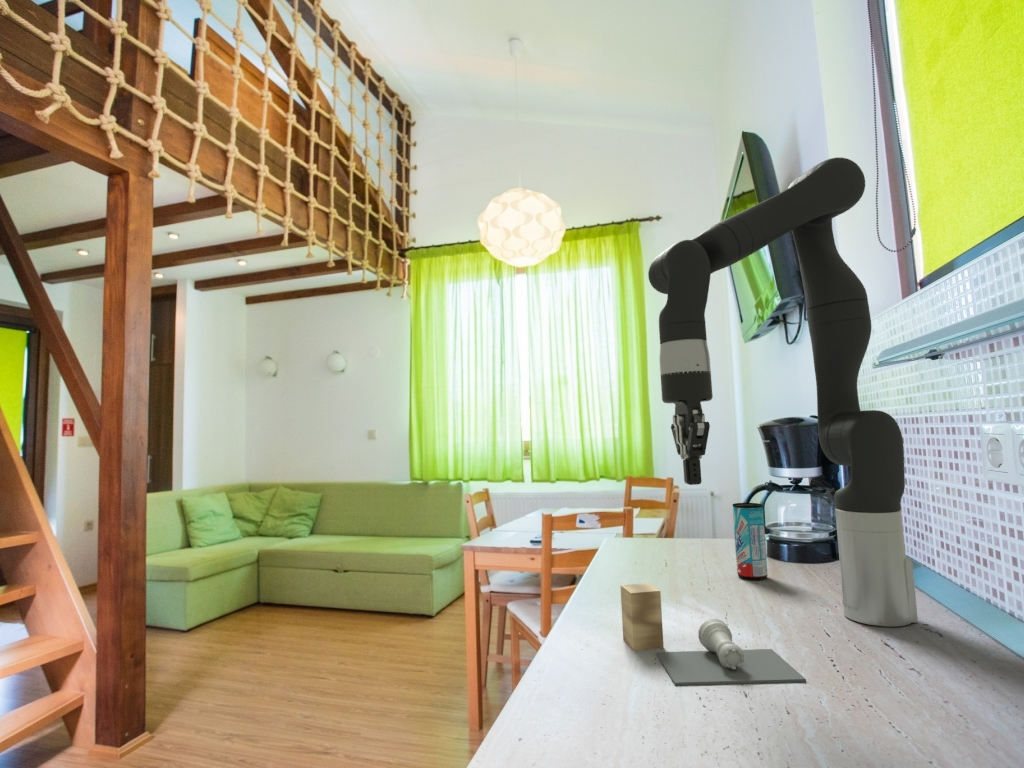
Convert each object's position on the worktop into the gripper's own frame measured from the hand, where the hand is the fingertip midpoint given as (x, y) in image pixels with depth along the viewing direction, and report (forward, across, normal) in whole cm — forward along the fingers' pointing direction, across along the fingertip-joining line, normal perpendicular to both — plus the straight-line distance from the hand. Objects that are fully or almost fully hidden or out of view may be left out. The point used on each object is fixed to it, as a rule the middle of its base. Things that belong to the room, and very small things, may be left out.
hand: (693, 483), depth 89 cm
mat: (+23, -11, 0) cm, 25 cm away
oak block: (+23, -1, +9) cm, 25 cm away
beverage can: (+23, +35, -21) cm, 47 cm away
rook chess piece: (+20, -5, 0) cm, 21 cm away
